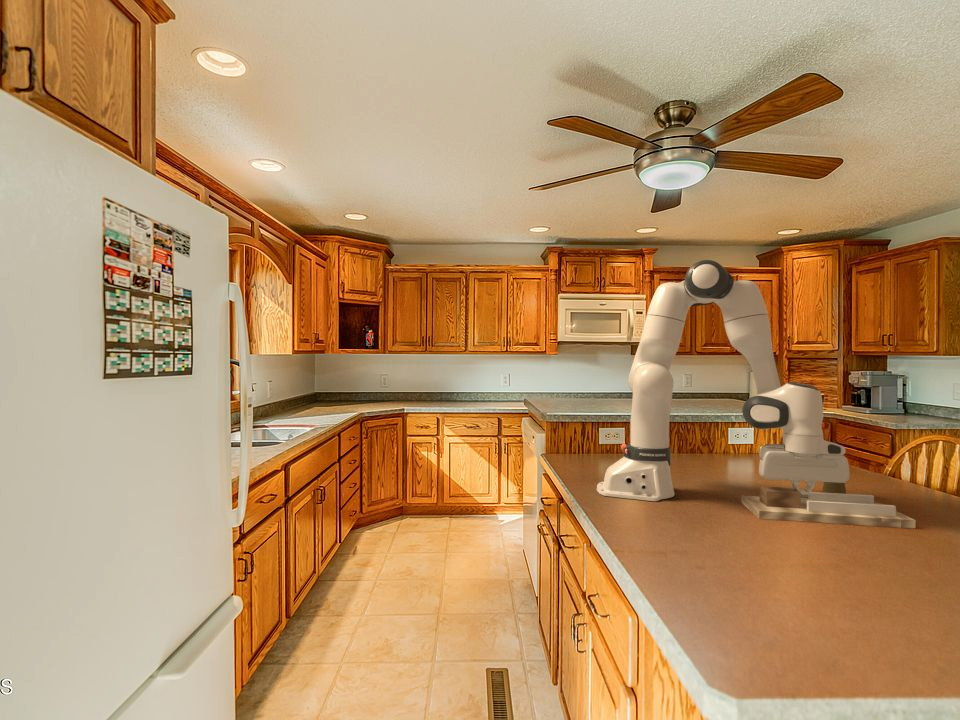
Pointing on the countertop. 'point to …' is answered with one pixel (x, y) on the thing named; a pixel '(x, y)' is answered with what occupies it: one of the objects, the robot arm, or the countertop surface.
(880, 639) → the countertop surface
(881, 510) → the channel walls
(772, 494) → the walnut block
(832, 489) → the cork
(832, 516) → the board
